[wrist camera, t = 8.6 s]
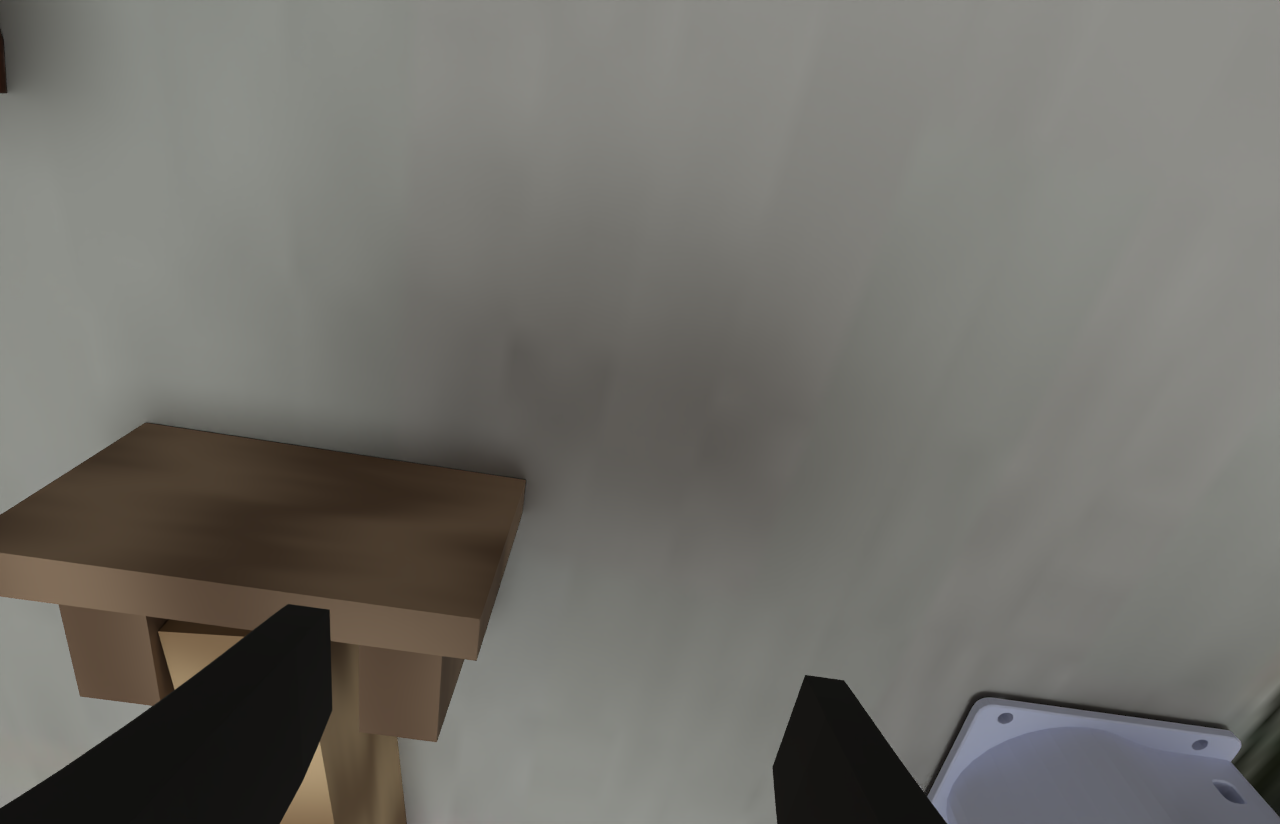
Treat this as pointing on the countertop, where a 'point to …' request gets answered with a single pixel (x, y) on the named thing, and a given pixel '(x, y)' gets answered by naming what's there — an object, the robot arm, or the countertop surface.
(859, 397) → the countertop surface
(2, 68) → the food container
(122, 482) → the brown wooden stool
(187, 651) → the rail
